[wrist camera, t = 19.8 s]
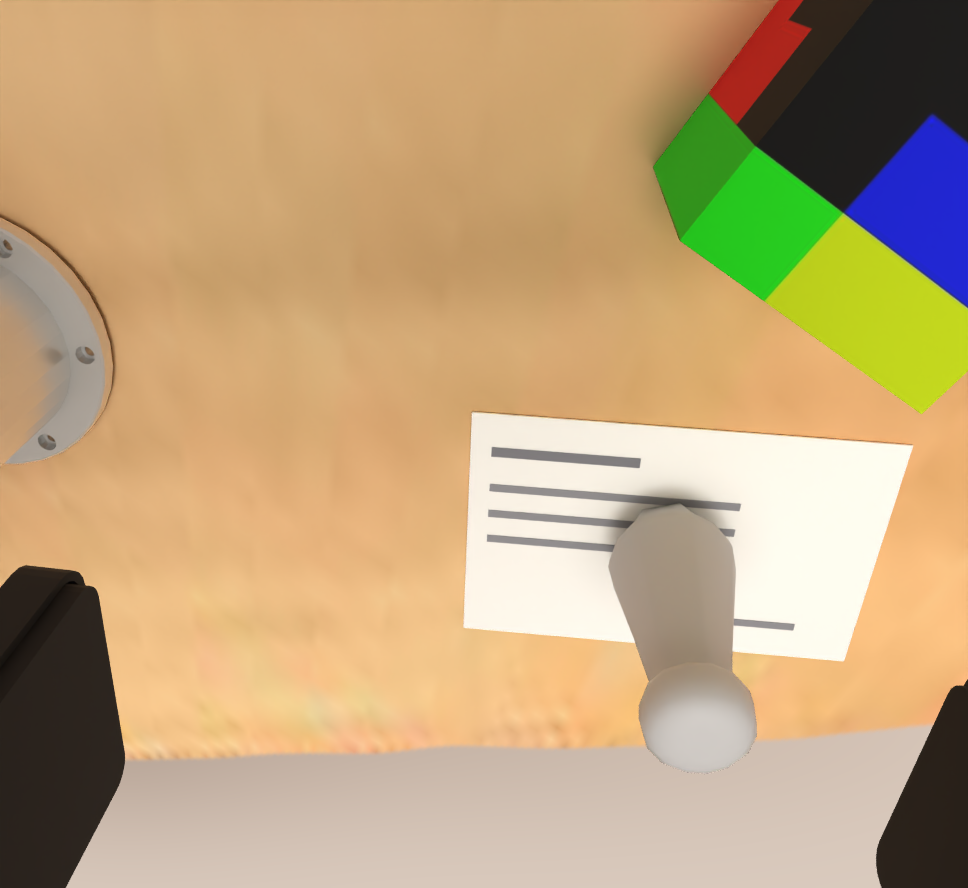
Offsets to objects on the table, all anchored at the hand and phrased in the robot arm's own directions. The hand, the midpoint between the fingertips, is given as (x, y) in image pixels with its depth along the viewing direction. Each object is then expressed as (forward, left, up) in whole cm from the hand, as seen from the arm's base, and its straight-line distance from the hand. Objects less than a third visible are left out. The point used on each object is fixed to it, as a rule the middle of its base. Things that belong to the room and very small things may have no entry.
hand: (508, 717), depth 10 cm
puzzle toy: (+11, +2, -30) cm, 32 cm away
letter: (+7, -18, -30) cm, 35 cm away
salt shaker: (+7, -18, -30) cm, 35 cm away
